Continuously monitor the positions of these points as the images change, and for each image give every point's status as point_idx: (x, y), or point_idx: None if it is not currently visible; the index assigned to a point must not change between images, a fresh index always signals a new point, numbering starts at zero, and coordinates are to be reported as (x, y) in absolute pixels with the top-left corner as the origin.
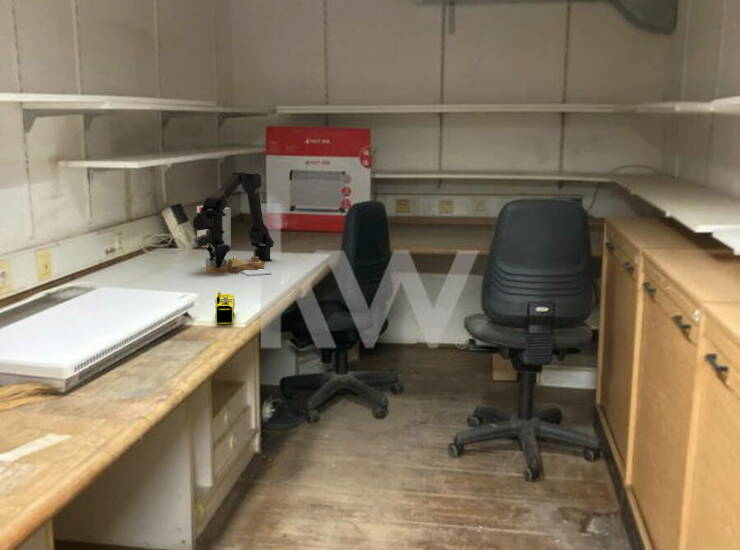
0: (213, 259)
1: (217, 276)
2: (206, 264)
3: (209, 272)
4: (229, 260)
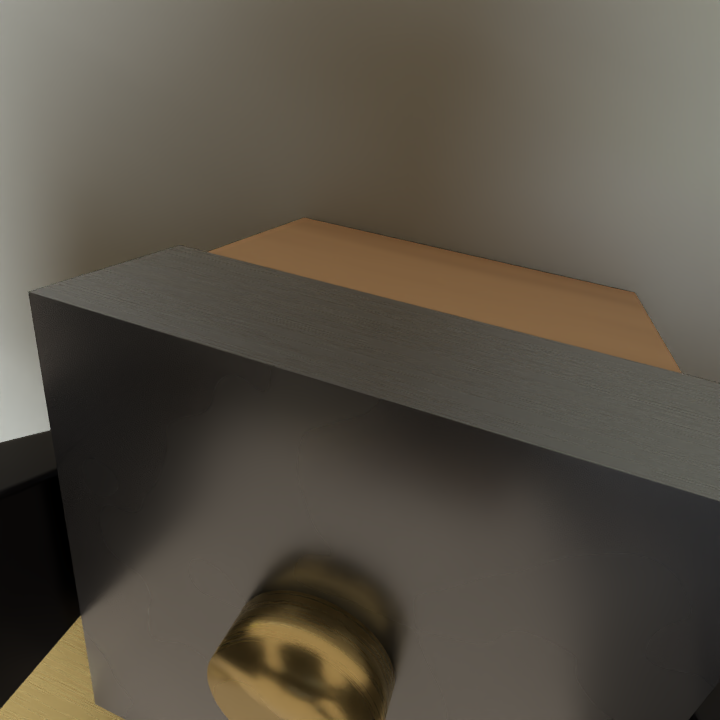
0: (235, 536)
1: (14, 195)
2: (601, 344)
3: (338, 228)
4: (72, 706)
